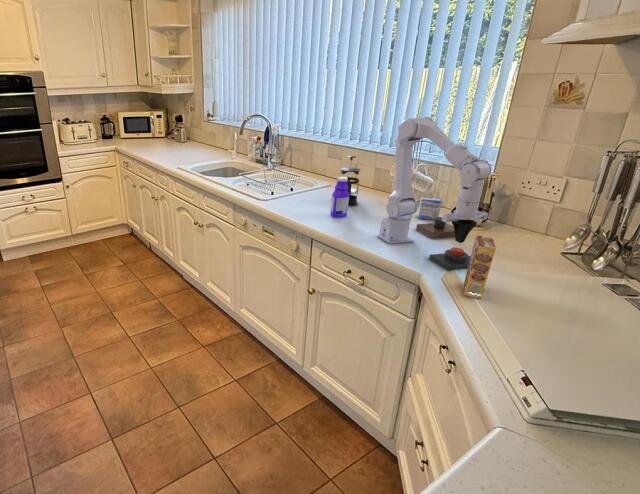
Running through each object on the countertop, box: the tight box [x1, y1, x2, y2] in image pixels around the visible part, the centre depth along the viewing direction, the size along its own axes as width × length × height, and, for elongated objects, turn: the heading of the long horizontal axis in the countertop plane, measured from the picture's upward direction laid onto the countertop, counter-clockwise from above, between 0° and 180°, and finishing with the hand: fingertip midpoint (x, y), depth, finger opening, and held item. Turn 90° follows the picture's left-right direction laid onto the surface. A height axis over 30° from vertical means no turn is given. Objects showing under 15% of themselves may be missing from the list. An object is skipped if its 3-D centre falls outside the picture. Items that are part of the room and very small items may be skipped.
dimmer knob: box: [433, 216, 446, 229], centre depth 152 cm, size 4×4×4 cm
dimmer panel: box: [415, 222, 455, 240], centre depth 153 cm, size 12×10×3 cm
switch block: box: [428, 249, 471, 272], centre depth 128 cm, size 12×9×4 cm
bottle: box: [329, 176, 349, 219], centre depth 171 cm, size 7×6×17 cm
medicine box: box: [417, 196, 443, 221], centre depth 169 cm, size 8×4×9 cm, turn 68°
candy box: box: [463, 235, 496, 300], centre depth 109 cm, size 9×4×15 cm, turn 152°
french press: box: [340, 155, 361, 207], centre depth 188 cm, size 12×9×23 cm
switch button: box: [450, 246, 465, 256], centre depth 127 cm, size 4×4×2 cm
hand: (459, 241), depth 125 cm, fingers closed
